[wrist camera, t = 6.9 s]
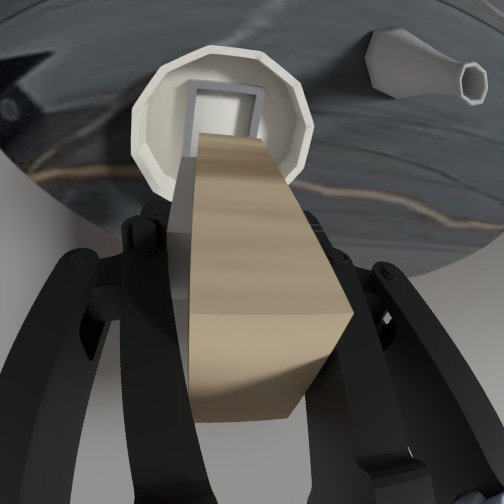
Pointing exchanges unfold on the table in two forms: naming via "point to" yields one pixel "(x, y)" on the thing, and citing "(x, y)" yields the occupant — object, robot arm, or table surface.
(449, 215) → the table surface
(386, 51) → the flask
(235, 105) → the white round dish
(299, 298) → the wooden block
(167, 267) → the robot arm
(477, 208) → the table surface
